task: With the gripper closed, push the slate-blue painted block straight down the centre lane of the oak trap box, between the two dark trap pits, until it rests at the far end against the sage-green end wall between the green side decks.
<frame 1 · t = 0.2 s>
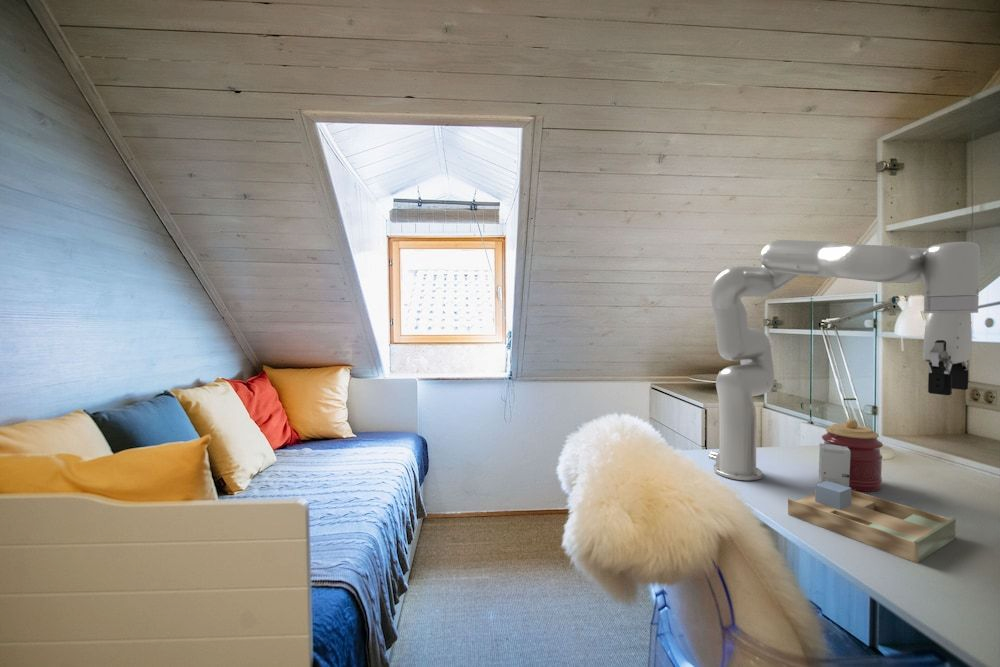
hand: (948, 391, 88), 31 cm above the table, fingers open, 9 cm apart
canister: (850, 483, 119), on the table
block: (832, 503, 102), point 2 cm above the table, touching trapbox
skincare box: (833, 493, 113), on the table
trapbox: (866, 525, 96), on the table
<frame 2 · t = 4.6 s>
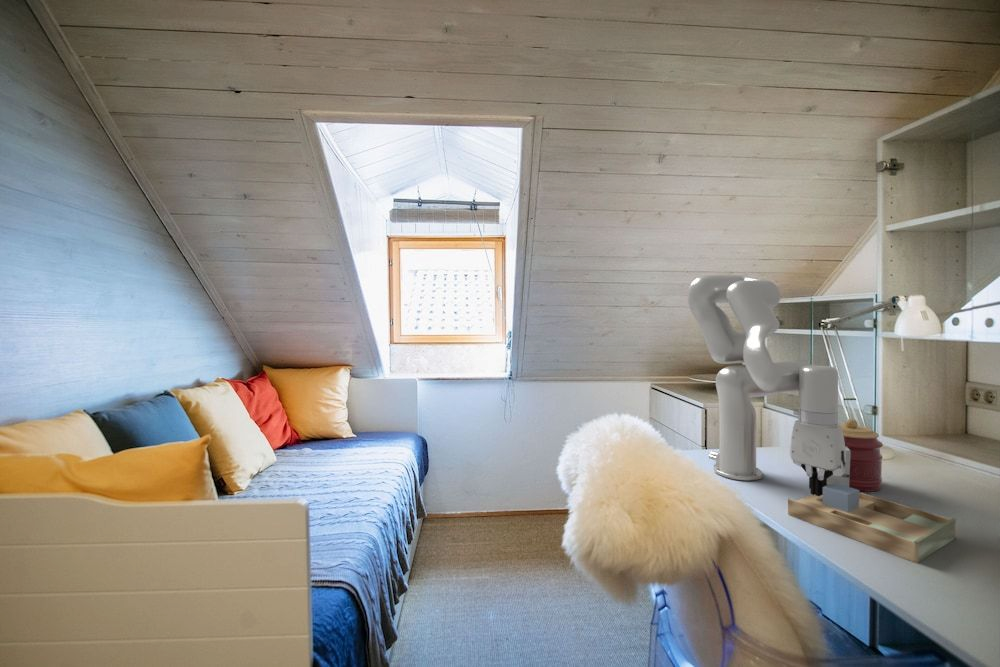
hand: (817, 493, 104), 4 cm above the table, fingers closed
block: (840, 505, 100), point 3 cm above the table, touching gripper
everything else where it was.
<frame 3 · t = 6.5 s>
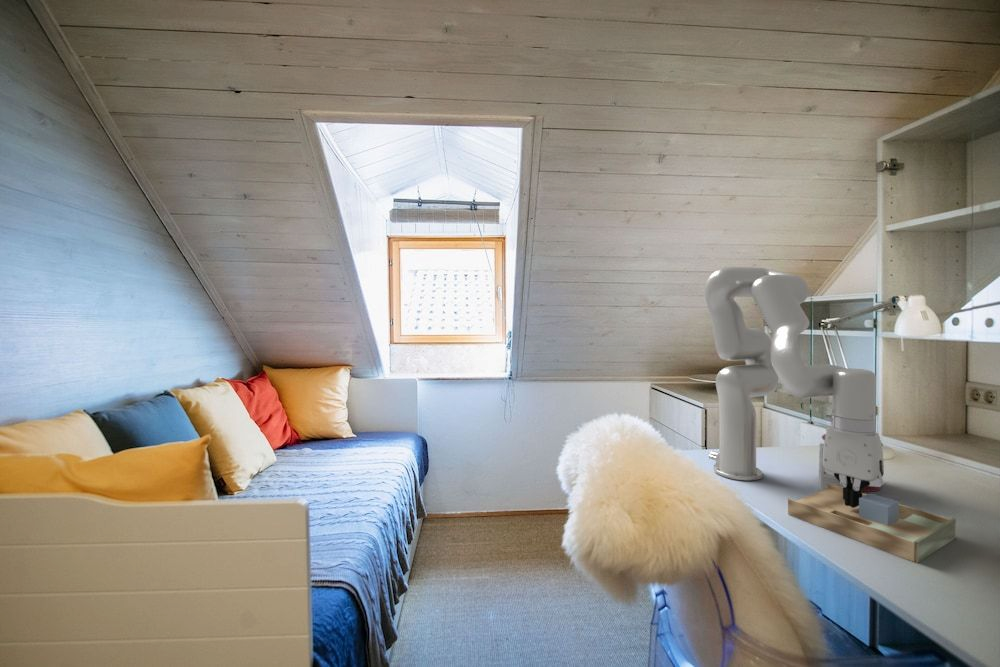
hand: (852, 505, 98), 4 cm above the table, fingers closed
block: (878, 518, 94), point 3 cm above the table, touching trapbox
everything else where it was.
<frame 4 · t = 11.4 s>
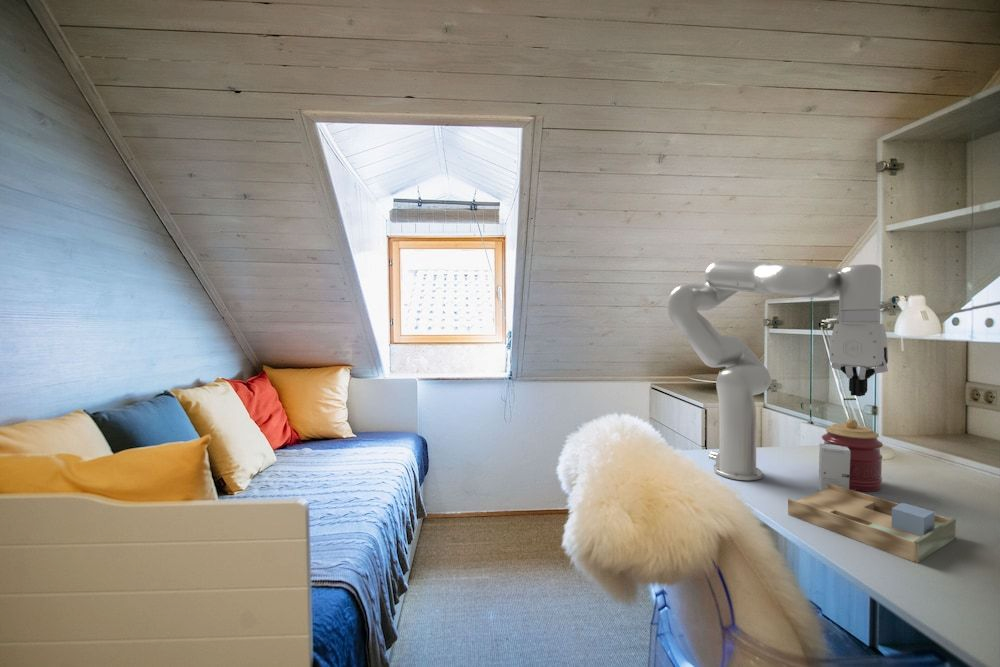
hand: (857, 395, 104), 27 cm above the table, fingers closed
block: (912, 529, 89), point 2 cm above the table, touching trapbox
everything else where it was.
at the end: block inside the target area (0.6 cm from its centre), point 2.5 cm above the table; block tilted 0°; block touching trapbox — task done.
